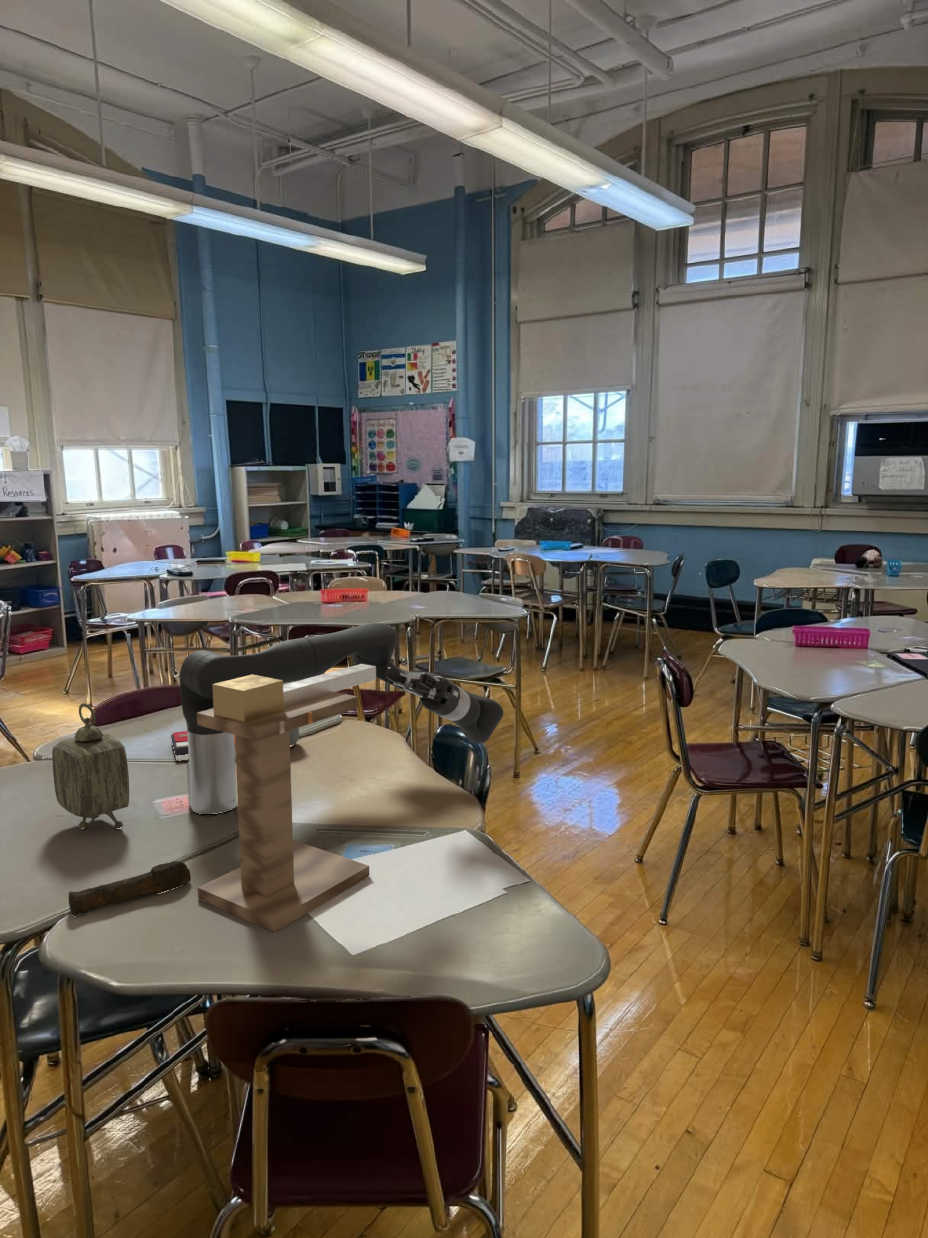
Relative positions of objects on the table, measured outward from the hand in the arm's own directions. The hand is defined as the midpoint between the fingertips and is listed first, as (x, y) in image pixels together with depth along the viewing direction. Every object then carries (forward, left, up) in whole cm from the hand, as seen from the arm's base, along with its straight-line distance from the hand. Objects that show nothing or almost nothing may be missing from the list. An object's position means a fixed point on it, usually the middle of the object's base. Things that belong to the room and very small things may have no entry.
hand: (404, 674), depth 164 cm
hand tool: (-18, -50, -31) cm, 62 cm away
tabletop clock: (-49, -38, -31) cm, 69 cm away
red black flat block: (-72, +5, -31) cm, 78 cm away
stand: (+1, -34, -30) cm, 45 cm away
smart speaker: (-56, +19, -31) cm, 67 cm away
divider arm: (+1, -28, +2) cm, 28 cm away
